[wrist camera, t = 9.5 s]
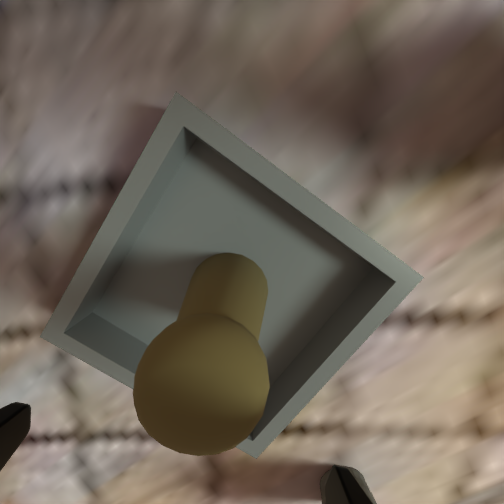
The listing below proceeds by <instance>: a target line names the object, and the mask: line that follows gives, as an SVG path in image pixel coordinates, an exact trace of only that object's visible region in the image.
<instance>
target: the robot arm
mask: <svg viewBox="0 0 504 504" xmlns="http://www.w3.org/2000/svg"><path fill="white" fill-rule="evenodd" d="M30 424H31V407H30V405H28V404H24V403H19V402H15V403H11V404H9V405H7V406H5V407H3V408H1V409H0V471H1V470H2V468H3V467H4V466H5V464H6V463H7V462H8V460H9V459H10V457H11V456H12V455H13V453H14V452H15V451H16V449H17V448H18V447H19V445H20V444H21V443H22V441H23V440H24V439H25V437H26V436H27V434H28V432H29V429H30ZM325 500H326V504H373V503H372V501H371V500H370V498H369V497H368V495H367V494H366V493H365V491H364V490H363V488H362V487H361V486H360V484H359V483H358V481H357V480H356V478H355V477H354V476H353V474H352V473H351V471H350V470H349V469H348V468H347V467H344V466H339V465H334V466H333V467H332V469H331V471H330V474H329V476H328V479H327V481H326V484H325Z"/></svg>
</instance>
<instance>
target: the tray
mask: <svg viewBox="0 0 504 504" xmlns="http://www.w3.org/2000/svg"><path fill="white" fill-rule="evenodd" d="M229 252H230V253H235V254H241V255H243V256H245V257H247V258H249V259H251V260H253V261H254V262H255V263H256V264H257V265H258V266H259V267H260V268H261V269H262V271H263V273H264V275H265V277H266V279H267V285H268V296H267V301H266V306H265V311H264V316H263V321H262V325H261V330H260V335H259V340H258V343H259V345H260V347H261V349H262V351H263V353H264V355H265V357H266V360H267V367H268V375H269V385H270V388H269V392H268V396H267V401H266V405H265V409H264V413H263V416H262V417H261V419H260V420H259V422H258V423H257V425H256V426H255V428H254V429H253V430H252V432H251V433H250V435H249V436H248V437H247V438H246V439H245V440H244V441H242V442H241V443H240V444H238V445H237V446H236V448H238V449H240V450H242V451H243V452H245V453H247V454H249V455H251V456H252V457H254V458H256V459H257V458H258V457H259V455H260V454H261V453H262V452H263V451H264V450H265V449H266V448H267V447H268V446H269V445H270V444H271V442H272V441H273V440H274V439H275V438H276V437H277V436H278V435H279V434H280V433H281V432H282V431H283V429H284V428H285V427H286V426H287V425H288V424H289V423H290V422H291V421H292V420H293V419H294V418H295V416H296V415H297V414H298V413H299V412H300V411H301V410H302V409H303V408H304V407H305V406H306V405H307V403H308V402H309V401H310V400H311V399H312V398H313V397H314V396H315V395H316V394H317V393H318V392H319V390H320V389H321V388H322V387H323V386H324V385H325V384H326V383H327V382H328V381H329V380H330V379H331V377H332V376H333V375H334V374H335V373H336V372H337V371H338V370H339V369H340V368H341V367H342V366H343V365H344V363H345V362H346V361H347V360H348V359H349V358H350V357H351V356H352V355H353V354H354V353H355V352H356V350H357V349H358V348H359V347H360V346H361V345H362V344H363V343H364V342H365V341H366V340H367V339H368V337H369V336H370V335H371V334H372V333H373V332H374V331H375V330H376V329H377V328H378V327H379V326H380V324H381V323H382V322H383V321H384V320H385V319H386V318H387V317H388V316H389V315H390V314H391V313H392V311H393V310H394V309H395V308H396V307H397V306H398V305H399V304H400V303H401V302H402V301H403V300H404V298H405V297H406V296H407V295H408V294H409V293H410V292H411V291H412V290H413V289H414V288H415V287H416V285H417V284H418V283H419V282H420V281H421V280H422V279H423V278H424V277H423V276H421V275H420V274H419V273H417V272H416V271H415V270H413V269H412V268H411V267H409V266H408V265H407V264H405V263H404V262H403V261H401V260H400V259H399V258H397V257H396V256H395V255H393V254H392V253H391V252H389V251H388V250H387V249H385V248H384V247H383V246H381V245H380V244H379V243H377V242H376V241H375V240H373V239H372V238H371V237H369V236H368V235H367V234H365V233H364V232H363V231H361V230H360V229H359V228H357V227H356V226H355V225H353V224H352V223H351V222H349V221H348V220H347V219H345V218H344V217H343V216H341V215H340V214H339V213H337V212H336V211H335V210H333V209H332V208H331V207H329V206H328V205H327V204H325V203H324V202H323V201H321V200H320V199H319V198H317V197H316V196H315V195H313V194H312V193H311V192H309V191H308V190H307V189H305V188H304V187H303V186H301V185H300V184H299V183H297V182H296V181H295V180H293V179H292V178H291V177H289V176H288V175H287V174H285V173H284V172H283V171H281V170H280V169H279V168H277V167H276V166H275V165H273V164H272V163H271V162H269V161H268V160H267V159H265V158H264V157H263V156H261V155H260V154H259V153H257V152H256V151H255V150H253V149H252V148H251V147H249V146H248V145H247V144H245V143H244V142H243V141H241V140H240V139H239V138H237V137H236V136H235V135H233V134H232V133H231V132H229V131H228V130H227V129H225V128H224V127H223V126H221V125H220V124H219V123H217V122H216V121H215V120H213V119H212V118H211V117H209V116H208V115H207V114H205V113H204V112H203V111H201V110H200V109H199V108H197V107H196V106H195V105H193V104H192V103H191V102H189V101H188V100H187V99H185V98H184V97H183V96H181V95H180V94H179V93H177V92H176V93H175V94H174V96H173V98H172V100H171V102H170V103H169V105H168V107H167V109H166V111H165V112H164V114H163V116H162V118H161V120H160V121H159V123H158V125H157V127H156V129H155V130H154V132H153V134H152V136H151V138H150V139H149V141H148V143H147V145H146V147H145V148H144V150H143V152H142V154H141V156H140V157H139V159H138V161H137V163H136V165H135V166H134V168H133V170H132V172H131V174H130V175H129V177H128V179H127V181H126V183H125V184H124V186H123V188H122V190H121V192H120V193H119V195H118V197H117V199H116V201H115V202H114V204H113V206H112V208H111V210H110V211H109V213H108V215H107V217H106V219H105V220H104V222H103V224H102V226H101V228H100V229H99V231H98V233H97V235H96V237H95V238H94V240H93V242H92V244H91V246H90V247H89V249H88V251H87V253H86V255H85V256H84V258H83V260H82V262H81V264H80V265H79V267H78V269H77V271H76V273H75V274H74V276H73V278H72V280H71V282H70V283H69V285H68V287H67V289H66V291H65V292H64V294H63V296H62V298H61V300H60V301H59V303H58V305H57V307H56V309H55V311H54V312H53V314H52V316H51V318H50V320H49V321H48V323H47V325H46V327H45V329H44V330H43V332H42V334H41V336H40V337H41V338H43V339H45V340H46V341H48V342H50V343H52V344H54V345H55V346H57V347H59V348H61V349H62V350H64V351H66V352H68V353H70V354H71V355H73V356H75V357H77V358H78V359H80V360H82V361H84V362H85V363H87V364H89V365H91V366H93V367H94V368H96V369H98V370H100V371H101V372H103V373H105V374H107V375H109V376H110V377H112V378H114V379H116V380H117V381H119V382H121V383H123V384H125V385H126V386H128V387H130V388H132V389H133V388H134V376H135V373H136V370H137V367H138V364H139V362H140V360H141V358H142V356H143V354H144V352H145V350H146V348H147V347H148V346H149V344H150V343H151V341H152V340H153V339H154V338H155V337H156V336H157V335H158V334H159V333H161V332H162V331H163V330H164V329H165V328H166V327H167V326H169V325H170V324H172V323H173V322H175V321H176V320H177V317H178V315H179V312H180V309H181V306H182V303H183V300H184V298H185V295H186V292H187V289H188V286H189V283H190V281H191V278H192V276H193V274H194V272H195V270H196V268H197V267H198V266H199V265H200V264H201V263H202V262H203V261H204V260H205V259H207V258H209V257H211V256H213V255H216V254H221V253H229Z"/></svg>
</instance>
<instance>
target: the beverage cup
mask: <svg viewBox="0 0 504 504" xmlns="http://www.w3.org/2000/svg"><path fill="white" fill-rule="evenodd" d="M347 468H348V469H349V470H350V471H351V473H352V474H353V476H354V477H355V478H356V480H357V481H358V483H359V484H360V486H361V487H362V488H363V490H364V491H365V493H366V494H367V495H368V497H369V498H370V500H371V501H372V503H373V504H377V503H376V501H375V499H374V497H373V495H372V493H371V492H370V490H369V488H368V486H367V484H366V482H365V479H364V477H363V475H362V474H361V473H360V472H359V471H358V470H356V469H353V468H350V467H347ZM330 471H331V470H330ZM330 471H328V472H326V473H325V474H324V476H323V477H322V478H321V481H320V489H321V495H322V504H326V500H325V484H326V481H327V479H328V476H329V474H330Z"/></svg>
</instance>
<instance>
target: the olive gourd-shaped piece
mask: <svg viewBox="0 0 504 504" xmlns="http://www.w3.org/2000/svg"><path fill="white" fill-rule="evenodd" d="M267 296H268V285H267V279H266V277H265V275H264V273H263V271H262V269H261V268H260V267H259V266H258V265H257V264H256V263H255V262H254V261H253V260H251V259H249V258H247V257H245V256H243V255H241V254H235V253H230V252H229V253H221V254H216V255H213V256H211V257H209V258H207V259H205V260H204V261H203V262H202V263H201V264H200V265H199V266H198V267H197V268H196V270H195V272H194V274H193V276H192V278H191V281H190V283H189V286H188V289H187V292H186V295H185V298H184V300H183V303H182V306H181V309H180V312H179V315H178V317H177V320H176V321H175V322H173V323H172V324H170V325H169V326H167V327H166V328H165V329H164V330H163V331H162V332H161V333H159V334H158V335H157V336H156V337H155V338H154V339H153V340H152V341H151V343H150V344H149V346H148V347H147V348H146V350H145V352H144V354H143V356H142V358H141V360H140V362H139V364H138V367H137V370H136V373H135V376H134V388H133V398H134V405H135V409H136V412H137V416H138V419H139V421H140V423H141V424H142V426H143V427H144V428H145V430H146V431H147V433H148V434H149V435H150V436H151V437H153V438H154V439H155V440H156V441H158V442H159V443H160V444H161V445H163V446H165V447H167V448H170V449H172V450H174V451H177V452H179V453H184V454H190V455H196V456H203V455H214V454H219V453H222V452H224V451H227V450H230V449H233V448H234V447H236V446H237V445H238V444H240V443H241V442H242V441H244V440H245V439H246V438H247V437H248V436H249V435H250V433H251V432H252V430H253V429H254V428H255V426H256V425H257V423H258V422H259V420H260V419H261V417H262V416H263V413H264V409H265V405H266V401H267V396H268V392H269V388H270V385H269V375H268V367H267V360H266V357H265V355H264V353H263V351H262V349H261V347H260V345H259V343H258V340H259V335H260V330H261V325H262V321H263V316H264V311H265V306H266V301H267Z"/></svg>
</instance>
